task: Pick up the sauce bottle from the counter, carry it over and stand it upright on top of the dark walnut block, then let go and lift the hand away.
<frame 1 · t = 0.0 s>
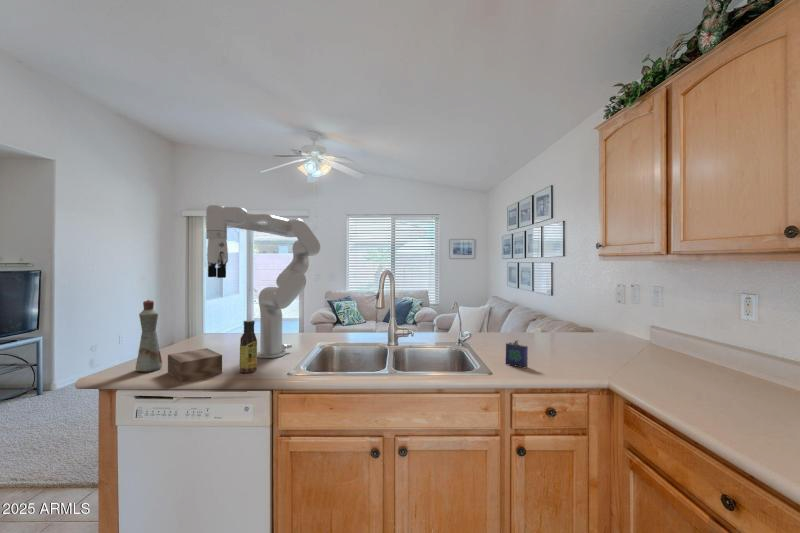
hand: (216, 277, 144), 37 cm above the countertop, tool pointing down, fingers open, 9 cm apart
flask: (516, 366, 146), on the countertop
sauce bottle: (248, 371, 138), on the countertop
walnut block: (194, 372, 135), on the countertop
bottle: (148, 370, 139), on the countertop
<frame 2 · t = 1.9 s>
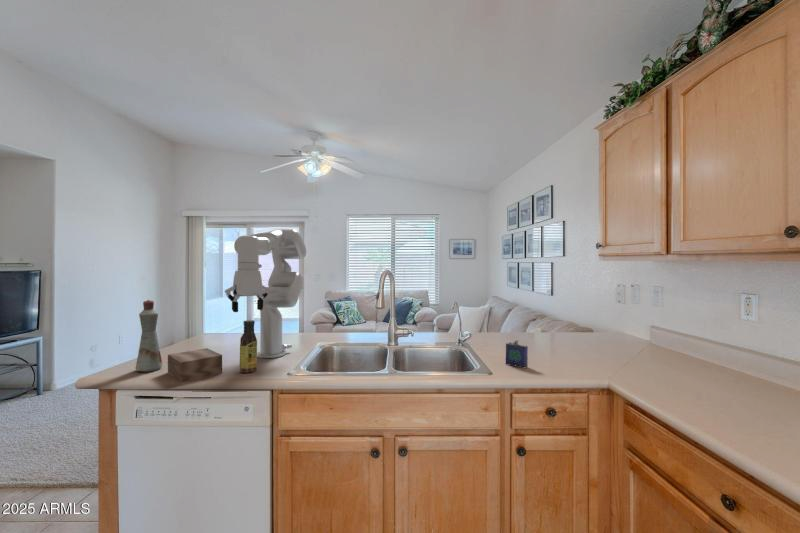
hand: (247, 310, 137), 24 cm above the countertop, tool pointing down, fingers open, 9 cm apart
nothing on the countertop moved.
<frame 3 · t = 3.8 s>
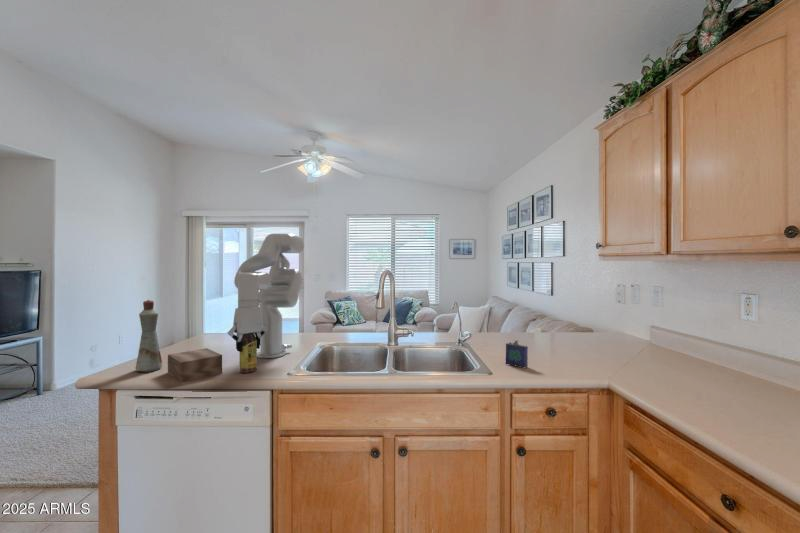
hand: (248, 349, 137), 9 cm above the countertop, tool pointing down, fingers closed on sauce bottle, 6 cm apart
sauce bottle: (248, 371, 138), on the countertop, touching gripper
everything else where it was.
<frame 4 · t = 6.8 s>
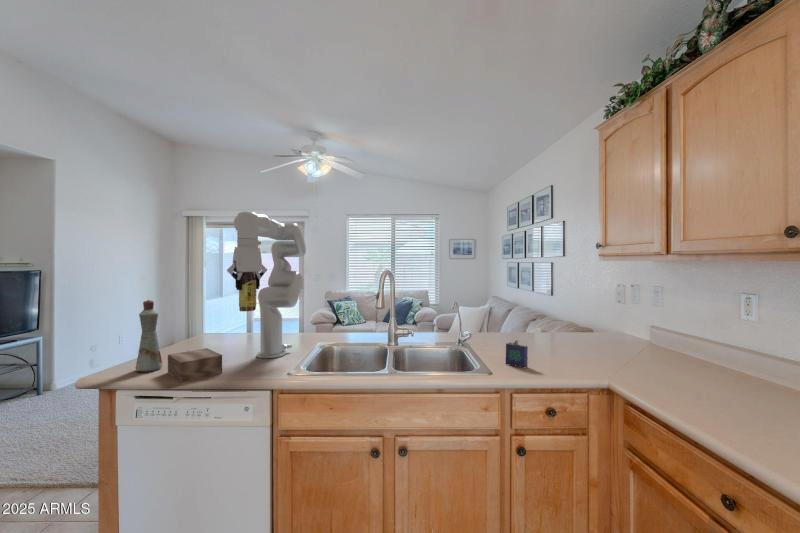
hand: (247, 289, 137), 32 cm above the countertop, tool pointing down, fingers closed on sauce bottle, 6 cm apart
sauce bottle: (248, 311, 137), point 24 cm above the countertop, touching gripper
everything else where it was.
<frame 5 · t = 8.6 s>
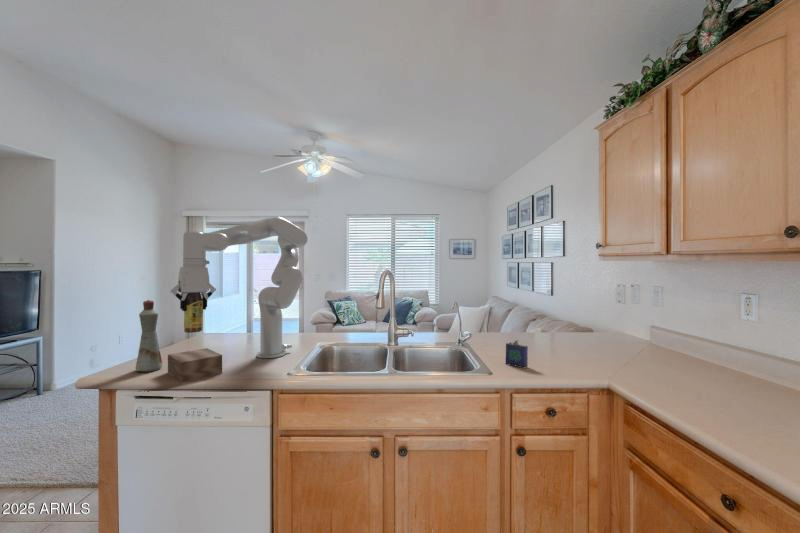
hand: (193, 309, 135), 25 cm above the countertop, tool pointing down, fingers closed on sauce bottle, 6 cm apart
sauce bottle: (193, 332, 135), point 16 cm above the countertop, touching gripper
everything else where it was.
when the fingers open (17 cm above the countertop, at t = 10.1 s): sauce bottle drops 1 cm, resting on walnut block.
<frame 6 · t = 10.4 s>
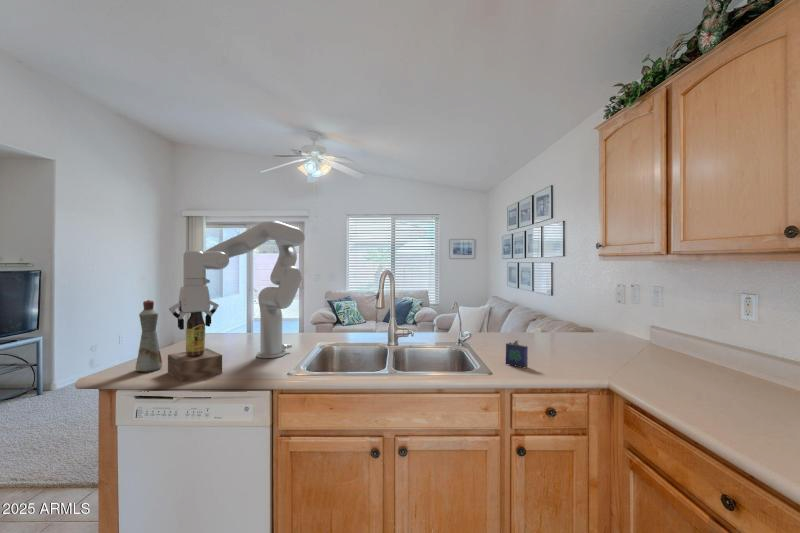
hand: (194, 327, 135), 18 cm above the countertop, tool pointing down, fingers open, 8 cm apart
sauce bottle: (195, 355, 135), point 7 cm above the countertop, touching walnut block
everything else where it was.
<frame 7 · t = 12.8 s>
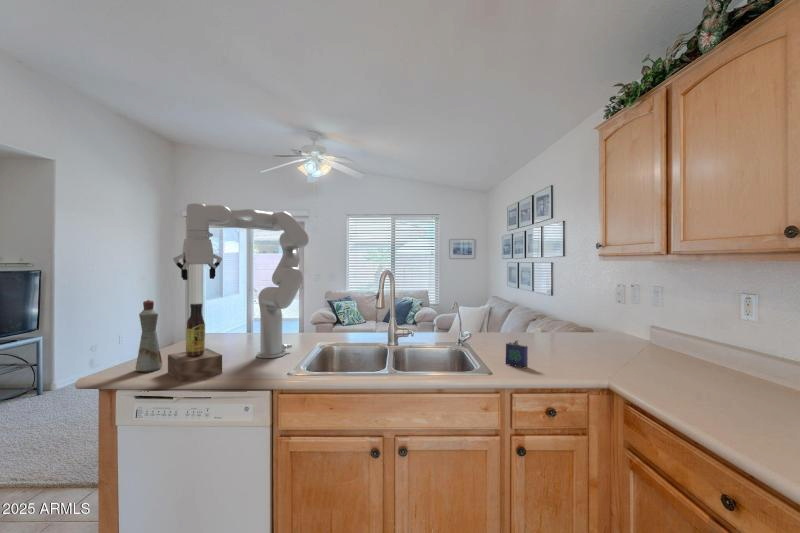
hand: (198, 279, 137), 36 cm above the countertop, tool pointing down, fingers open, 9 cm apart
nothing on the countertop moved.
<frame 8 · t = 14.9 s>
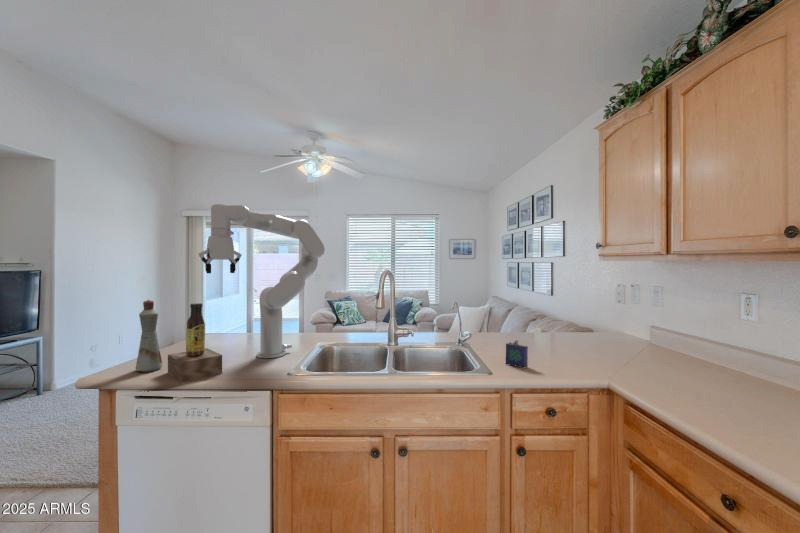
hand: (220, 273, 150), 38 cm above the countertop, tool pointing down, fingers open, 9 cm apart
nothing on the countertop moved.
at the end: sauce bottle inside the target area on the walnut block (0.2 cm from its centre), point 6.8 cm above the walnut block's base; sauce bottle tilted 0°; the gripper is holding nothing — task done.
